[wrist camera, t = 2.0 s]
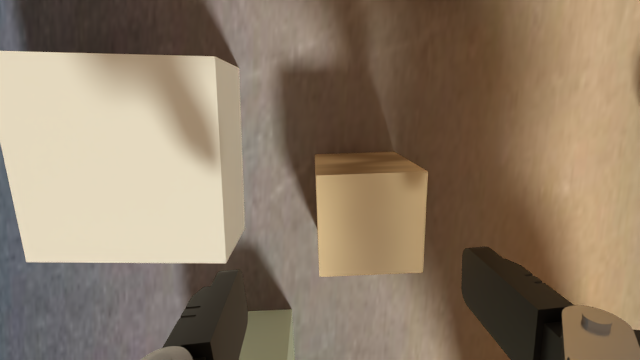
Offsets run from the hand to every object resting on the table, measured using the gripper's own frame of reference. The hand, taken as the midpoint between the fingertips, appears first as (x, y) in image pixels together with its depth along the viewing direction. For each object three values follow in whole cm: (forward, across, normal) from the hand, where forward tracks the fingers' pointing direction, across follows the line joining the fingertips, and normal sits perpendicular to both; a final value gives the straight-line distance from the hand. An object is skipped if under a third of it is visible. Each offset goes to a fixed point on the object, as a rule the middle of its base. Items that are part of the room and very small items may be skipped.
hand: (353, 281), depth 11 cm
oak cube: (+10, -2, -1) cm, 10 cm away
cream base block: (+10, +10, -4) cm, 15 cm away
